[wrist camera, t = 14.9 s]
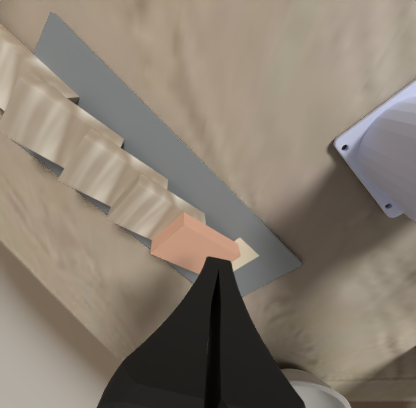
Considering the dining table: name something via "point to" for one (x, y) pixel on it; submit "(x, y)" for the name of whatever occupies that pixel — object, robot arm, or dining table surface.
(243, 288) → the slate mat
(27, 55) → the domino
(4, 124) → the domino
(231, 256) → the terracotta domino
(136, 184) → the domino
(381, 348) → the dining table surface
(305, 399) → the dish
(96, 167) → the domino
